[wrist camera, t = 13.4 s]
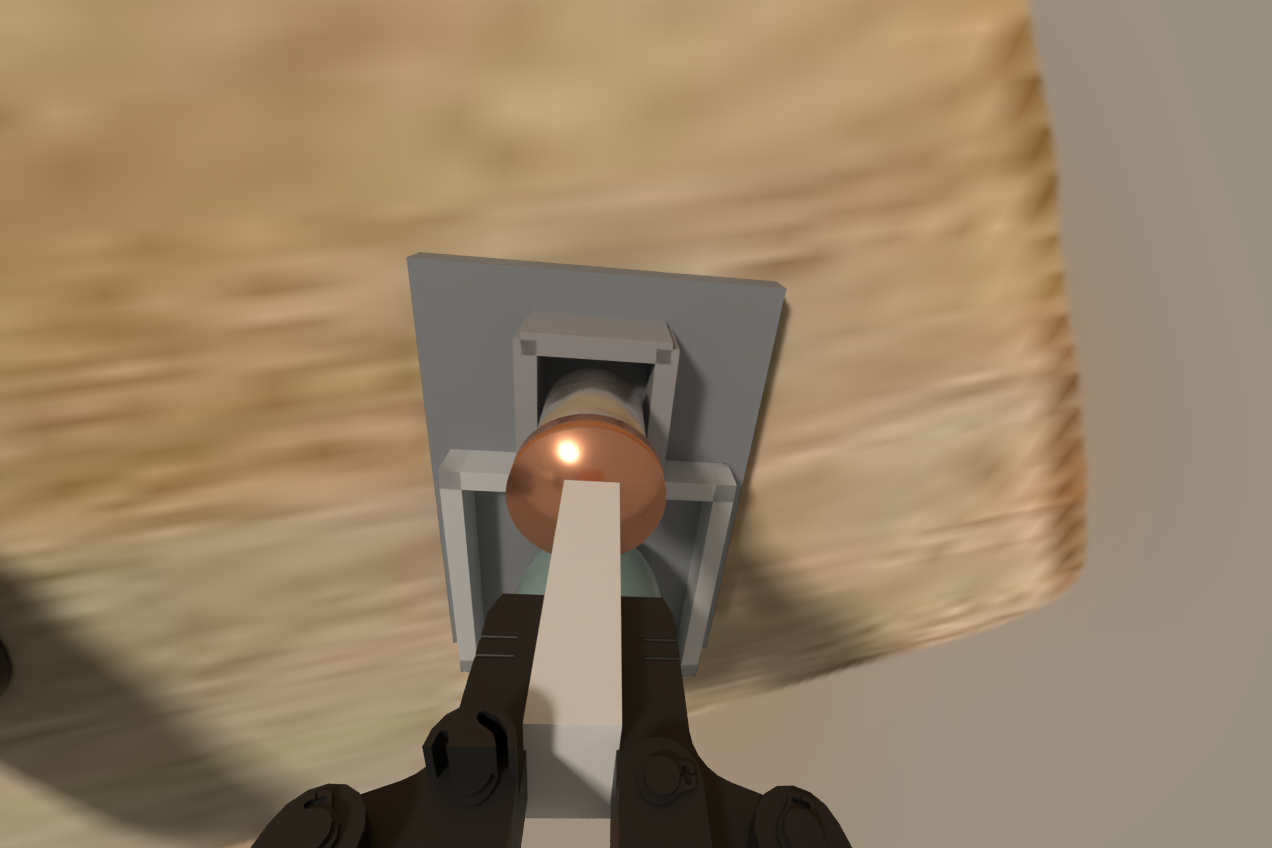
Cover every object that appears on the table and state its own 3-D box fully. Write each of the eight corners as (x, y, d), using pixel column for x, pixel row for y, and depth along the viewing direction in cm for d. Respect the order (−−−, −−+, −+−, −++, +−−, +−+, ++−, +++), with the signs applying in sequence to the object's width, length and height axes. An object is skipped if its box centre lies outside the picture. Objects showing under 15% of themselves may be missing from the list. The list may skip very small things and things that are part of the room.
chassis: (459, 622, 32) (436, 690, 27) (419, 252, 21) (372, 271, 17) (702, 628, 33) (715, 695, 29) (775, 281, 22) (813, 306, 18)
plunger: (535, 459, 21) (507, 558, 15) (534, 353, 19) (502, 424, 13) (646, 465, 21) (657, 563, 16) (657, 361, 19) (675, 434, 14)
